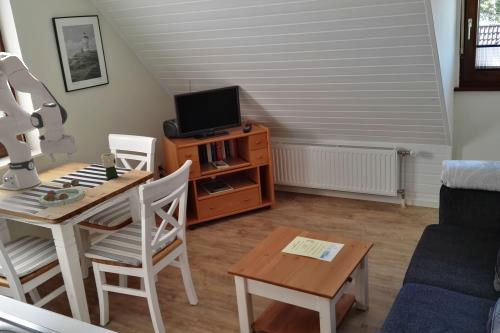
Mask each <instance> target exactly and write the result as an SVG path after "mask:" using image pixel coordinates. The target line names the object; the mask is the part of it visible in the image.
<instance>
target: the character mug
mask: <svg viewBox="0 0 500 333" xmlns="http://www.w3.org/2000/svg"><path fill="white" fill-rule="evenodd" d="M100 156H101V161H102V162H101V163H102V166H103V168H105V177H106V179H113V178H117V177H119V175H118V171H117V169H116V166H117V160H116V155H115V153H114V152H109V153H103V154H102V155H100Z"/></svg>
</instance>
